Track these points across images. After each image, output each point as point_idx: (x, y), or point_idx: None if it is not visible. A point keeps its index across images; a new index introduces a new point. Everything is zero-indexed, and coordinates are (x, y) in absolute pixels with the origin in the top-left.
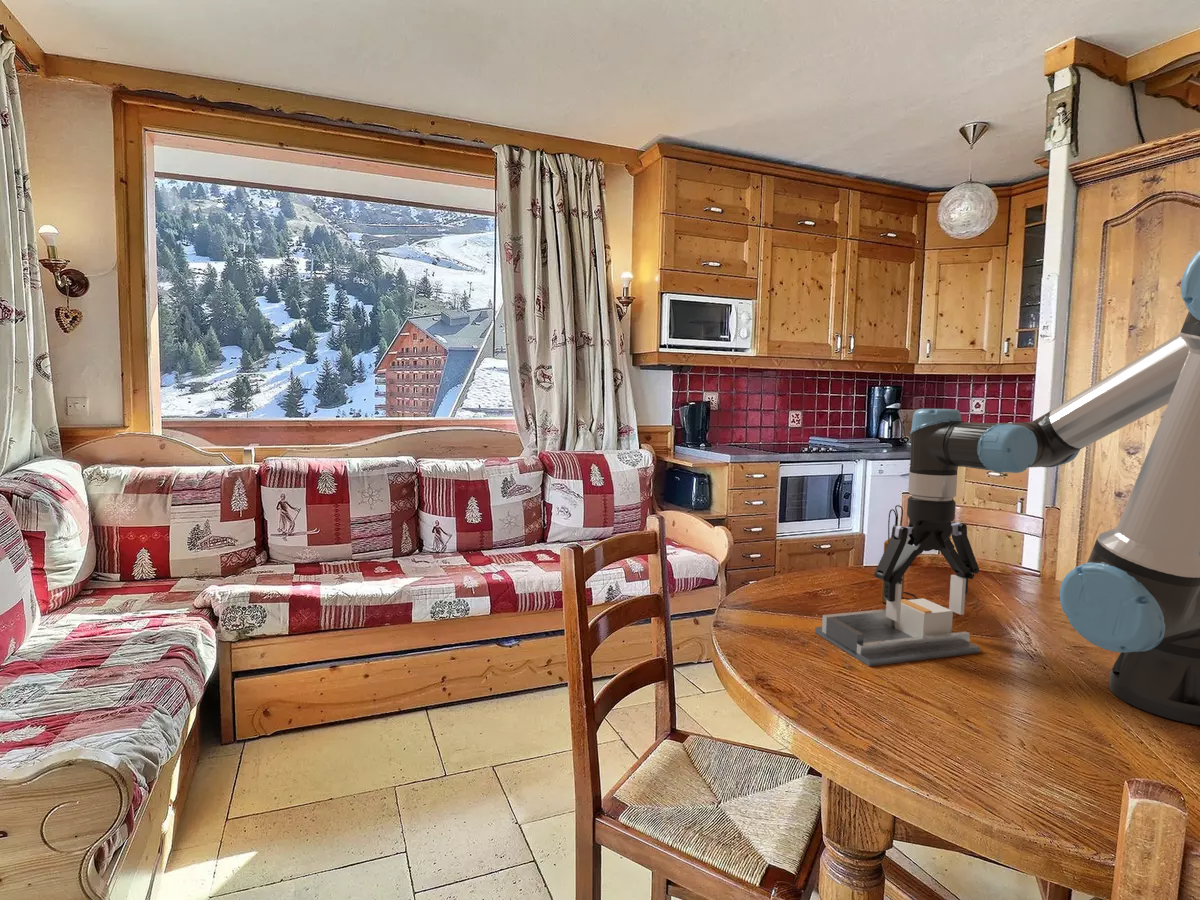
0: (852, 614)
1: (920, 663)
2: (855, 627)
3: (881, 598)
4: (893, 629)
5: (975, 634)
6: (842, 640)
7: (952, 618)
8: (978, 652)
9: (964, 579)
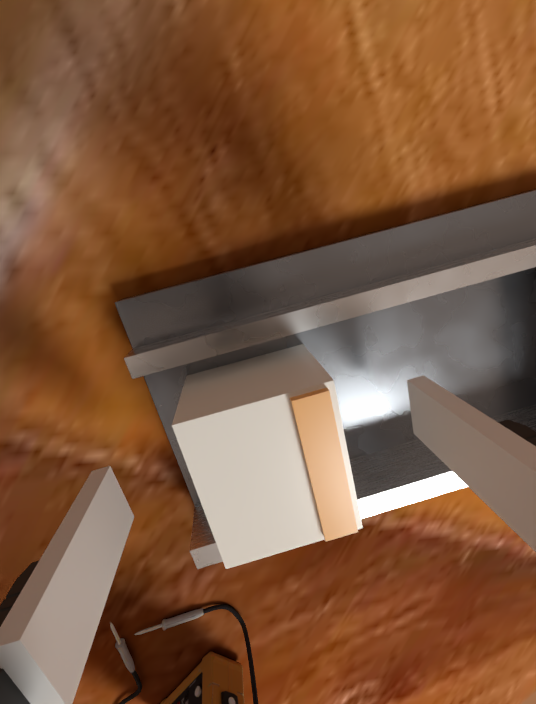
0: None
1: (374, 208)
2: None
3: (242, 674)
4: None
5: (57, 456)
6: None
7: (177, 407)
8: (126, 298)
9: (4, 642)
